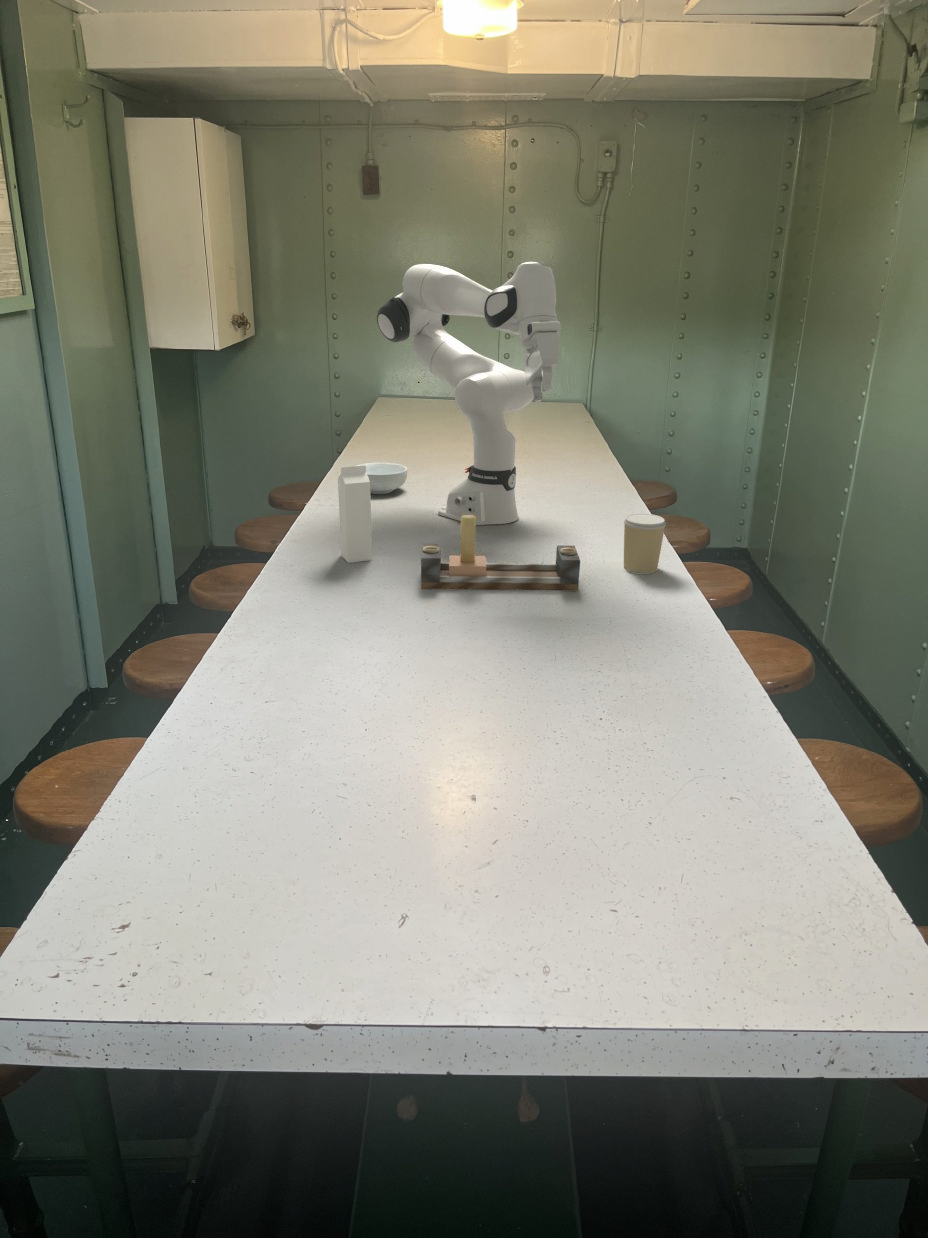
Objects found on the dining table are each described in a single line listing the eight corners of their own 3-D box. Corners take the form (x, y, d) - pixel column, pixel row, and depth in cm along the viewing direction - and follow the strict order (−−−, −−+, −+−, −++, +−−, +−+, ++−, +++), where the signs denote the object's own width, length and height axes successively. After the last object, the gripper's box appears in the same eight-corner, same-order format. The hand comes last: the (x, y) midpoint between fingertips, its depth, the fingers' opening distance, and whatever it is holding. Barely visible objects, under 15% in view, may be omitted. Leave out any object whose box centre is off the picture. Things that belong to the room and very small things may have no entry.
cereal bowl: (411, 485, 273) (411, 462, 270) (402, 499, 258) (402, 475, 255) (357, 483, 274) (356, 460, 272) (345, 496, 259) (345, 473, 256)
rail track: (421, 588, 190) (421, 554, 187) (423, 573, 199) (422, 540, 196) (578, 590, 190) (580, 556, 187) (572, 574, 199) (574, 542, 196)
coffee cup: (663, 564, 207) (668, 515, 202) (657, 577, 199) (663, 526, 194) (623, 559, 210) (627, 511, 205) (616, 572, 201) (621, 521, 197)
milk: (372, 560, 207) (370, 468, 198) (347, 563, 205) (344, 470, 196) (364, 552, 212) (362, 462, 203) (340, 555, 210) (336, 464, 201)
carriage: (449, 579, 191) (449, 521, 186) (449, 568, 197) (449, 512, 192) (485, 579, 191) (487, 521, 186) (485, 568, 197) (486, 512, 192)
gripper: (517, 348, 209) (520, 407, 209) (533, 320, 188) (537, 385, 189) (543, 348, 209) (546, 406, 210) (562, 319, 189) (566, 384, 189)
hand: (542, 396), depth 199 cm, fingers open, 8 cm apart
